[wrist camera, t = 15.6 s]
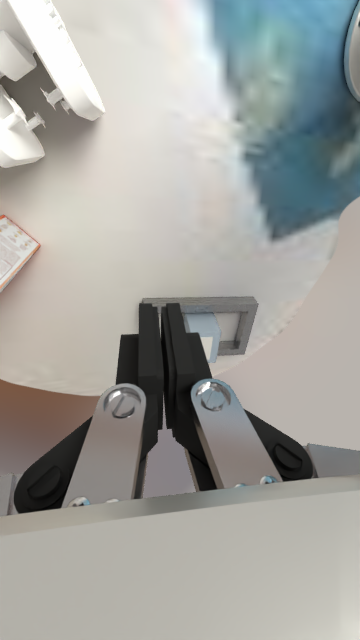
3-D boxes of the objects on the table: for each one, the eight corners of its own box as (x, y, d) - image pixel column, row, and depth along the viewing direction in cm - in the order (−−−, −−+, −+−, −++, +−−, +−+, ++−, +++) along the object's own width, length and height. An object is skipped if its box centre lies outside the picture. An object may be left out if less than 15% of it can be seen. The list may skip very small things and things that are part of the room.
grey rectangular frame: (253, 296, 46) (258, 304, 44) (240, 346, 53) (244, 354, 51) (143, 298, 43) (143, 306, 41) (144, 350, 50) (144, 358, 48)
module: (211, 308, 46) (221, 332, 40) (207, 337, 50) (216, 363, 44) (184, 309, 46) (191, 333, 40) (182, 338, 50) (188, 365, 44)
